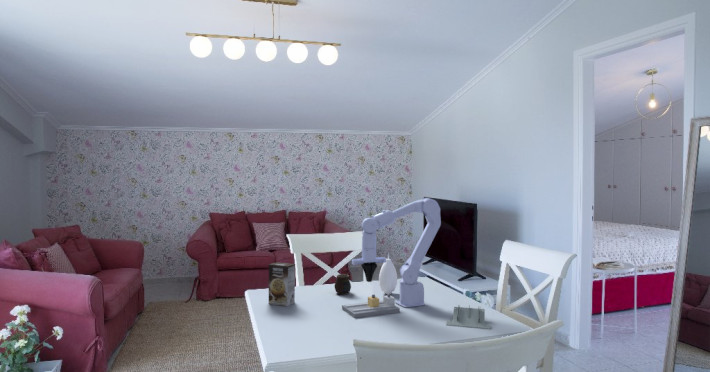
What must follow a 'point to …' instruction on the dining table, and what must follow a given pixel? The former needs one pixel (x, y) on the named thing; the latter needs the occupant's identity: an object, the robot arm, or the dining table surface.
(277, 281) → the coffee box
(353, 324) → the dining table surface
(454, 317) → the metal bracket
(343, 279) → the mate gourd
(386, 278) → the white air blower bulb
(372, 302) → the slider
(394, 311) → the gauge plate
